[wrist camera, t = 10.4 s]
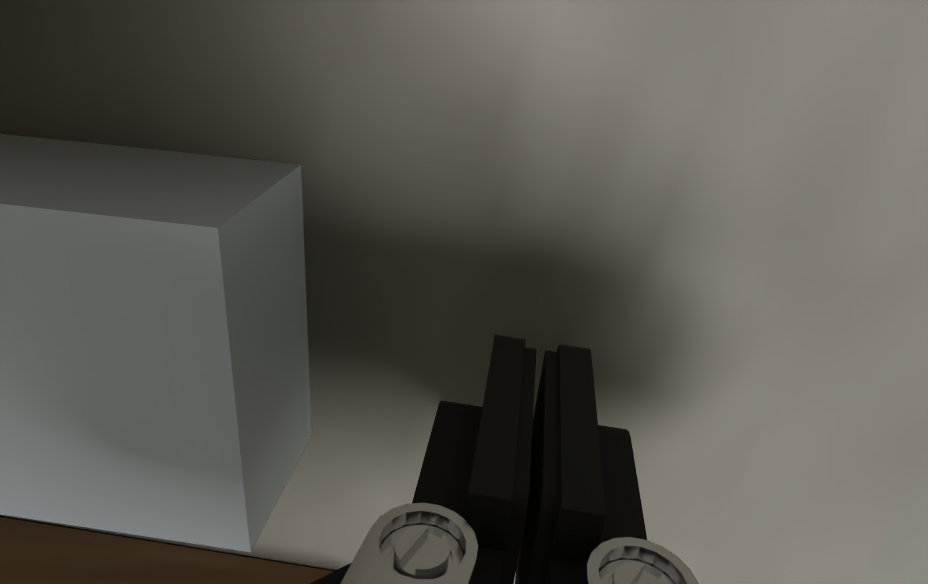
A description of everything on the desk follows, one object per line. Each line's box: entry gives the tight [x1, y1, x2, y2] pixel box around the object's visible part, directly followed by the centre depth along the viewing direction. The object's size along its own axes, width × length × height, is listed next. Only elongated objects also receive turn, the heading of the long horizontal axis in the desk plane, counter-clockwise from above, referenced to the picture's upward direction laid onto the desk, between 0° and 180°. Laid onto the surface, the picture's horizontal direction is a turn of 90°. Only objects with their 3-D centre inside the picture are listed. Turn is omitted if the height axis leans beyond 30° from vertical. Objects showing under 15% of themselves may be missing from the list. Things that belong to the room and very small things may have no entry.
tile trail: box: [0, 134, 312, 552], centre depth 12 cm, size 6×6×4 cm
